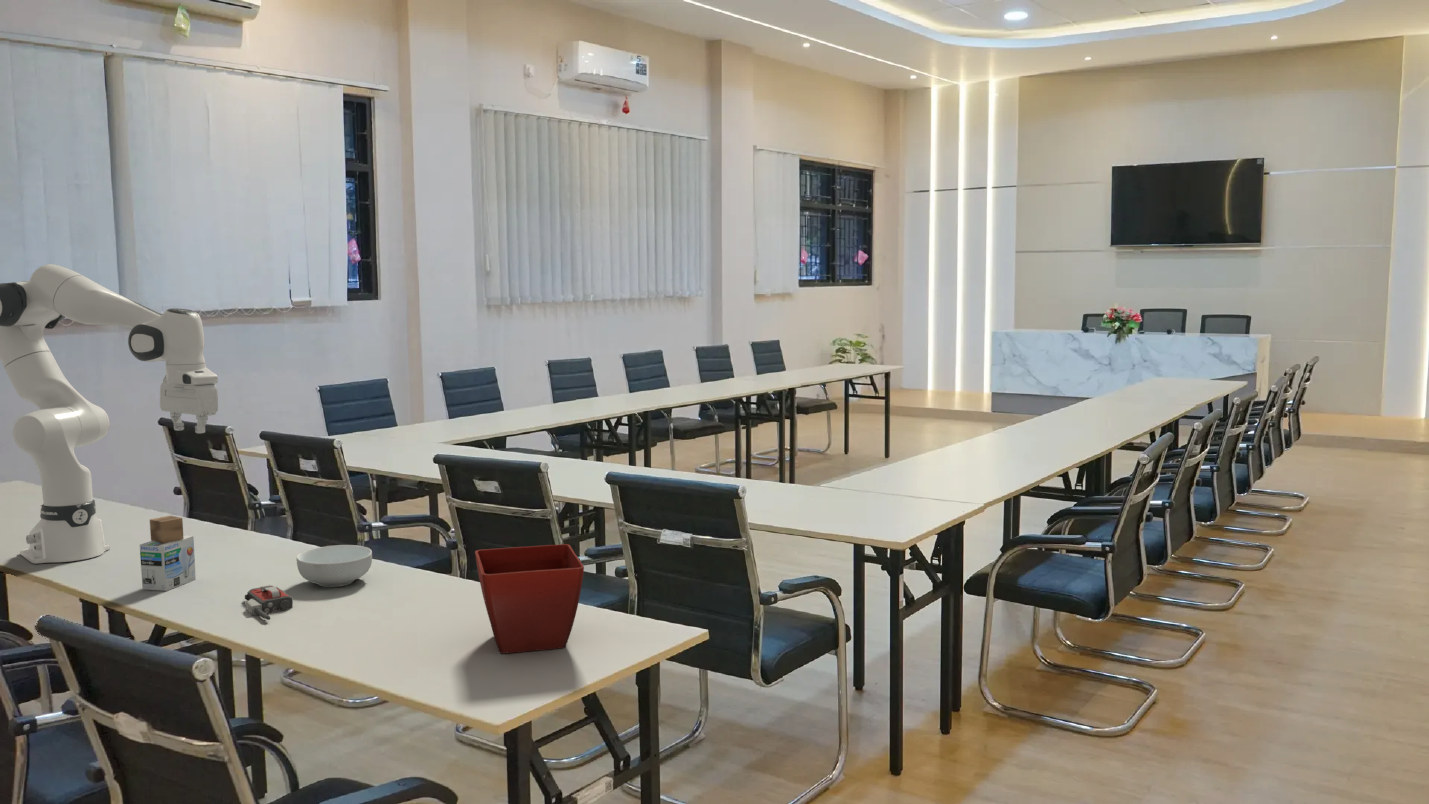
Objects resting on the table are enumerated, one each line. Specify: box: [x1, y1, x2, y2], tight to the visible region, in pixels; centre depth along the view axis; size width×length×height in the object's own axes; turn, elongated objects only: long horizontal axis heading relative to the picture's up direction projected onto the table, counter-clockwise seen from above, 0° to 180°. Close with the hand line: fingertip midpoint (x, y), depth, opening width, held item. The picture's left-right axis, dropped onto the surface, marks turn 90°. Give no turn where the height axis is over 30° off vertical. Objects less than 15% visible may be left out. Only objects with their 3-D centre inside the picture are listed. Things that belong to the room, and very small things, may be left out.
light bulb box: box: [139, 535, 197, 592], centre depth 254 cm, size 11×7×11 cm, turn 169°
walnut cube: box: [149, 515, 184, 543], centre depth 254 cm, size 5×5×5 cm
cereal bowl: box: [296, 544, 373, 588], centre depth 256 cm, size 17×17×7 cm
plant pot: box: [474, 543, 585, 654], centre depth 213 cm, size 19×19×17 cm
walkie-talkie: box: [244, 584, 294, 621], centre depth 235 cm, size 9×4×20 cm
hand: (189, 431), depth 266 cm, fingers open, 8 cm apart
